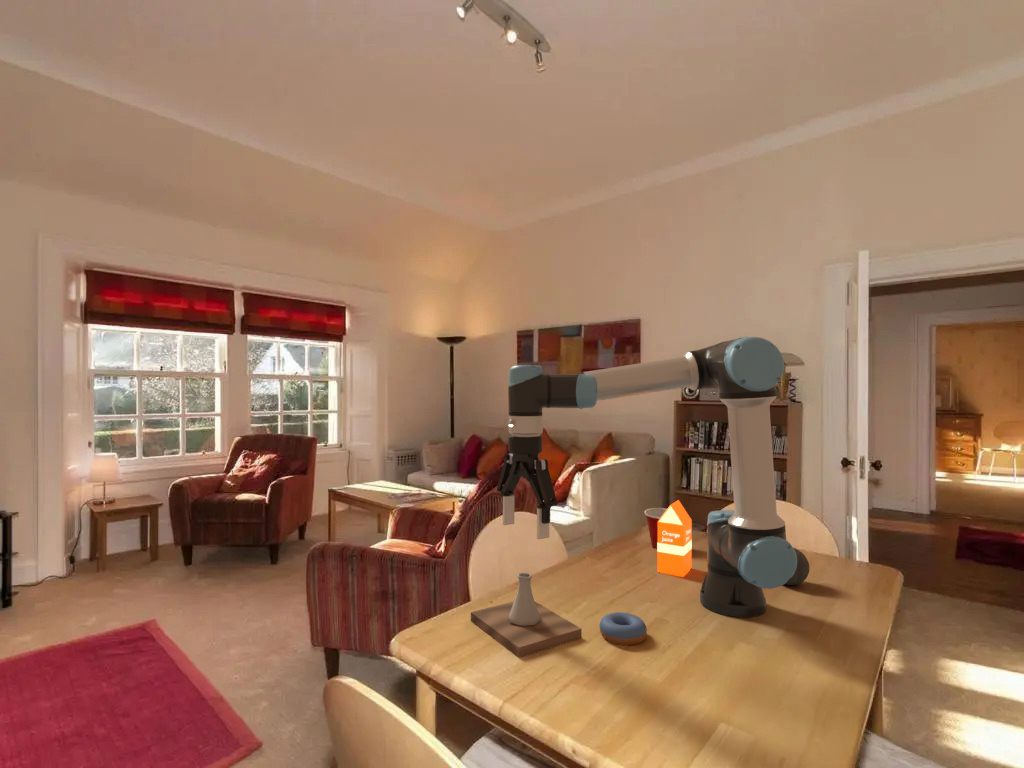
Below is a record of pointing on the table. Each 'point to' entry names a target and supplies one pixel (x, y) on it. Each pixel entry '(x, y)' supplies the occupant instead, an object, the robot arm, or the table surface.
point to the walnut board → (525, 629)
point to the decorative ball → (799, 569)
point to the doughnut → (623, 628)
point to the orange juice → (674, 541)
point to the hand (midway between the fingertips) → (525, 531)
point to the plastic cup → (654, 523)
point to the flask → (524, 603)
